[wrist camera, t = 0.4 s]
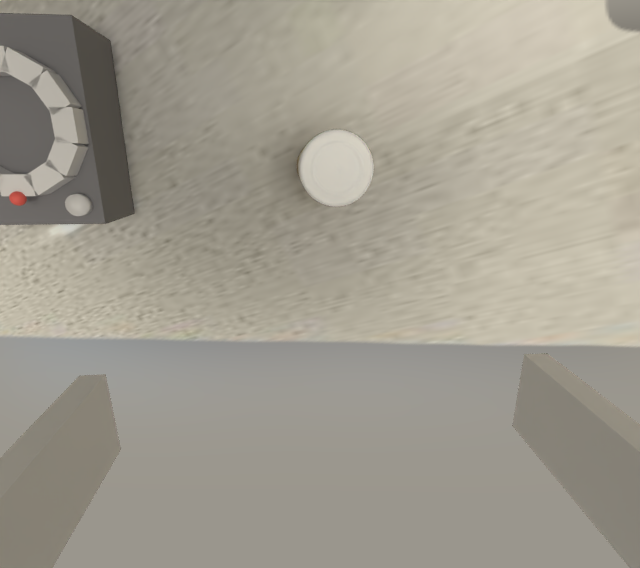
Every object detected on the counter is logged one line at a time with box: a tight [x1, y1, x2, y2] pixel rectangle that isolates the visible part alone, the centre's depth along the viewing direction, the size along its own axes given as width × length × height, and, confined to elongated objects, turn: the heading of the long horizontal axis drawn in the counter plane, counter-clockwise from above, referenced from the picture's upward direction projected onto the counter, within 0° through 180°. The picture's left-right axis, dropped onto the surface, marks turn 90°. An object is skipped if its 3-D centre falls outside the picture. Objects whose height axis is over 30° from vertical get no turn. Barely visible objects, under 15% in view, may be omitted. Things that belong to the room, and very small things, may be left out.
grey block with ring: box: [0, 13, 134, 225], centre depth 30 cm, size 14×10×8 cm
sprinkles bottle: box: [297, 129, 374, 207], centre depth 30 cm, size 5×5×13 cm
